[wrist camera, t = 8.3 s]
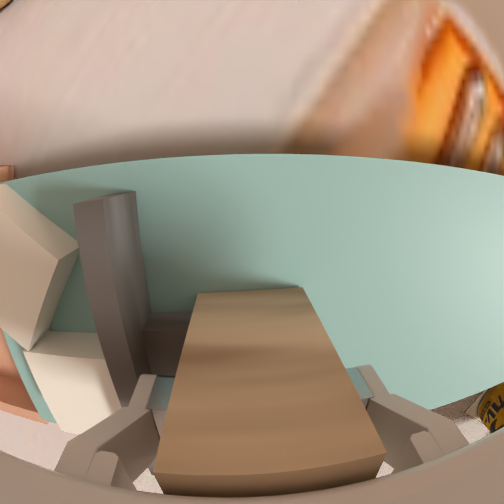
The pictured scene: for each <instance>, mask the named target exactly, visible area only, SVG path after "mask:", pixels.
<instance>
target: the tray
mask: <svg viewBox="0 0 504 504" xmlns="http://www.w3.org/2000/svg"><path fill="white" fill-rule="evenodd" d="M10 180H14V165H13V166H1V167H0V183H1V182H5V181H10ZM0 410H3V411H6V412H9V413H12V414H15V415H18V416H21V417H24V418H27V419H31V420H34V421H38V422H41V423H45V424H48V422H49V421H46V420H42V419H41V417H40V415H39V413H38V411H37V409H36V408H35V406H34V404H33V402H32V400H31V398H30V396H29V394H28V392H27V389H26V387H25V385H24V383H23V381H22V379H21V376H20V374H19V372H18V370H17V367H16V365H15V362H14V360H13V357H12V355H11V352H10V350H9V347H8V345H7V342H6V339H5V336H4V333H3V331H2V329H1V328H0Z"/></svg>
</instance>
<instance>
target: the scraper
mask: <svg viewBox="0 0 504 504" xmlns="http://www.w3.org/2000/svg"><path fill="white" fill-rule="evenodd" d="M73 210H74V219H75V226H76V234H77V240H78V247H79V253H80V259H81V264H82V269H83V275H84V280H85V284H86V289H87V294H88V298H89V303H90V307H91V311H92V315H93V319H94V323H95V327H96V330H97V334H98V337H99V341H100V344H101V348H102V351H103V354H104V358H105V361H106V364H107V367H108V370H109V373H110V376H111V379H112V382H113V385H114V388H115V391H116V393H117V396H118V399H119V401H120V404H121V407H122V408H123V407H128V406H129V403H130V400H131V398H132V395H133V393H134V390H135V387H136V385H137V382H138V380H139V377H140V376H141V375H142V374H151V375H168V376H175V380H174V384H173V388H172V392H171V396H170V400H169V404H168V408H167V412H166V416H165V420H164V424H163V429H162V433H161V437H160V442H159V446H158V450H157V455H156V459H155V460H154V461H153V462H152V463H151V464H150V465H149V466H148V468H149V470H150V472H151V474H152V475H154V476H155V478H156V480H157V481H158V483H159V485H160V487H161V489H162V491H163V493H164V494H167V495H178V496H192V497H222V498H232V497H261V496H275V495H286V494H295V493H303V492H310V491H317V490H323V489H329V488H334V487H340V486H345V485H349V484H354V483H358V482H363V481H367V480H371V479H375V478H376V476H377V473H378V471H379V469H380V467H381V465H382V462H383V460H384V458H385V456H386V453H387V452H386V449H385V447H384V445H383V443H382V441H381V439H380V437H379V435H378V433H377V431H376V429H375V427H374V425H373V423H372V421H371V419H370V417H369V415H368V413H367V411H366V409H365V407H364V405H363V403H362V401H361V399H360V397H359V395H358V393H357V391H356V389H355V387H354V385H353V383H352V381H351V379H350V377H349V375H348V373H347V371H346V369H345V367H344V365H343V363H342V361H341V359H340V357H339V355H338V353H337V351H336V349H335V348H334V346H333V344H332V342H331V340H330V338H329V336H328V334H327V332H326V330H325V328H324V326H323V325H322V323H321V321H320V319H319V317H318V315H317V313H316V311H315V309H314V308H313V306H312V304H311V302H310V300H309V298H308V296H307V294H306V293H305V291H304V289H303V287H298V288H283V289H267V290H249V291H230V292H207V293H198V295H197V298H196V302H195V305H194V309H193V312H167V313H151V307H150V302H149V296H148V290H147V283H146V277H145V270H144V263H143V256H142V248H141V240H140V231H139V222H138V212H137V201H136V191H132V192H123V193H114V194H109V195H105V196H101V197H97V198H93V199H89V200H86V201H82V202H78V203H75V204H73Z"/></svg>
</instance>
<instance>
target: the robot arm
mask: <svg viewBox="0 0 504 504" xmlns="http://www.w3.org/2000/svg"><path fill="white" fill-rule="evenodd" d="M345 369H346V371H347V373H348V375H349V377H350V379H351V381H352V383H353V385H354V387H355V389H356V391H357V393H358V395H359V397H360V399H361V401H362V403H363V405H364V407H365V409H366V411H367V413H368V415H369V417H370V419H371V421H372V423H373V425H374V427H375V429H376V431H377V433H378V435H379V437H380V439H381V441H382V443H383V445H384V447H385V449H386V452H387V453H386V456H385V458H384V460H383V461H385V462H386V463H387V464H389V465H390V466H392V467H393V468H394V470H393V472H392V473H391V474H389V475H386V476H382V477H379V478H375V479H371V480H367V481H363V482H358V483H354V484H349V485H345V486H340V487H334V488H329V489H323V490H317V491H310V492H303V493H295V494H286V495H275V496H261V497H232V498H222V497H192V496H178V495H167V494H158V493H150V492H143V491H137V490H136V488H135V486H134V485H133V483H132V482H133V481H134V480H135V479H136V478H137V477H138V476H139V475H140V474H141V473H142V472H143V471H144V470H145V469H146V468H147V467H148V466H149V465H150V464H151V463H152V462H153V461H154V460H155V459H156V455H157V450H158V446H159V442H160V437H161V433H162V429H163V424H164V420H165V416H166V412H167V408H168V404H169V400H170V396H171V392H172V388H173V384H174V380H175V376H168V375H151V374H142V375H141V376H140V377H139V380H138V382H137V385H136V387H135V390H134V393H133V395H132V398H131V400H130V403H129V406H128V407H123V408H121V409H120V410H118V411H116V412H115V413H113V414H112V415H110V416H109V417H107V418H106V419H104V420H102V421H101V422H99V423H98V424H96V425H95V426H93V427H91V428H90V429H88V430H87V431H85V432H83V433H82V434H80V435H79V436H77V437H75V438H74V439H72V440H70V441H69V442H68V443H67V445H66V447H65V449H64V451H63V453H62V455H61V457H60V460H59V462H58V464H57V466H56V468H55V470H54V471H52V470H49V469H46V468H43V467H40V466H38V465H35V464H32V463H30V462H27V461H24V460H22V459H19V458H17V457H14V456H12V455H10V454H7V453H5V452H3V451H0V504H504V427H503V428H501V429H499V430H497V431H495V432H494V433H492V434H490V435H488V436H486V437H484V438H482V439H480V440H478V441H476V442H474V443H472V444H469V443H468V441H467V440H466V438H465V437H464V436H463V434H462V433H461V431H460V430H459V429H458V427H457V426H456V425H455V423H454V422H453V420H451V419H448V418H446V417H444V416H442V415H439V414H437V413H435V412H433V411H431V410H428V409H426V408H424V407H422V406H420V405H417V404H415V403H413V402H411V401H409V400H407V399H405V398H403V397H401V396H398V395H396V394H390V393H389V392H388V390H387V389H386V387H385V385H384V384H383V382H382V381H381V379H380V378H379V376H378V375H377V373H376V371H375V370H374V368H373V367H372V365H370V364H367V365H362V366H355V367H352V368H345Z"/></svg>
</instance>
